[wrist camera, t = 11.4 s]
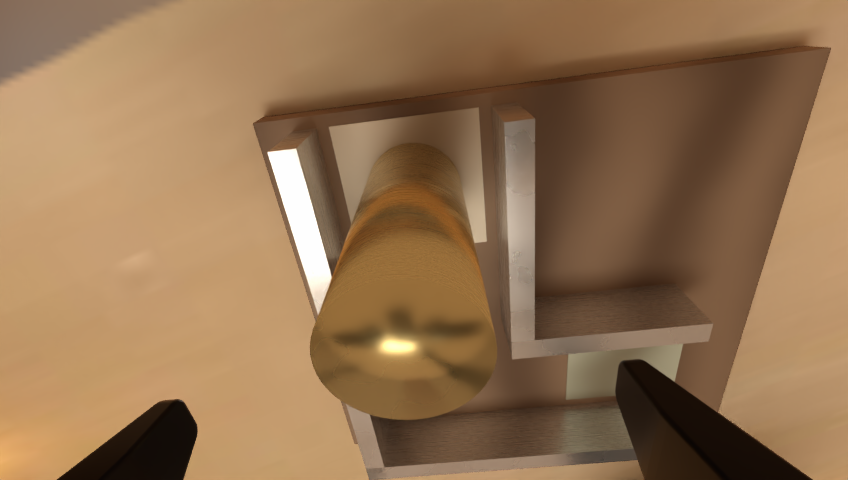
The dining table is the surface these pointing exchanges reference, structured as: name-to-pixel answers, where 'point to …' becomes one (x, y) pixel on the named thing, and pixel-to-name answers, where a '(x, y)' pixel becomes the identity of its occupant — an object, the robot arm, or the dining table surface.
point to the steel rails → (521, 315)
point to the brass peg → (407, 296)
